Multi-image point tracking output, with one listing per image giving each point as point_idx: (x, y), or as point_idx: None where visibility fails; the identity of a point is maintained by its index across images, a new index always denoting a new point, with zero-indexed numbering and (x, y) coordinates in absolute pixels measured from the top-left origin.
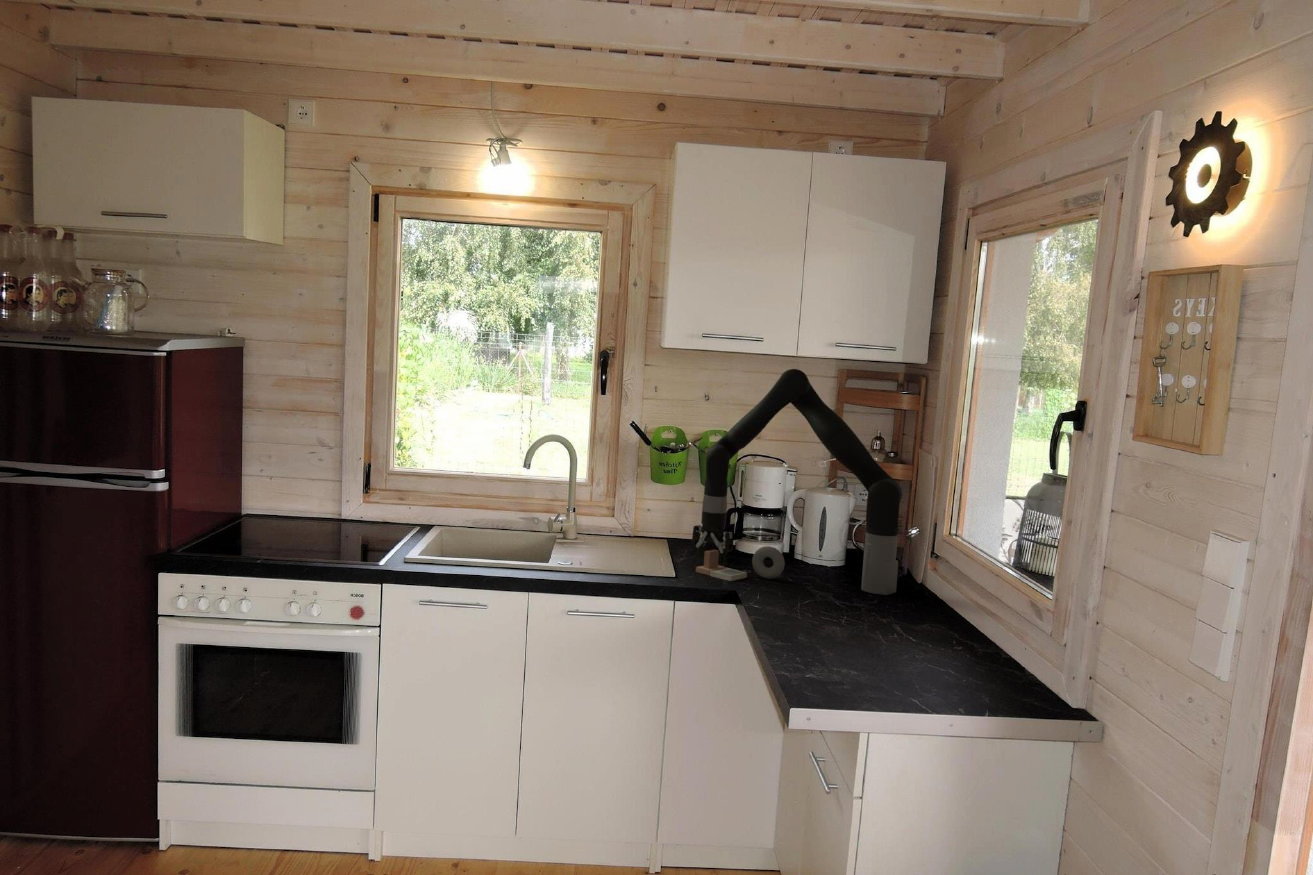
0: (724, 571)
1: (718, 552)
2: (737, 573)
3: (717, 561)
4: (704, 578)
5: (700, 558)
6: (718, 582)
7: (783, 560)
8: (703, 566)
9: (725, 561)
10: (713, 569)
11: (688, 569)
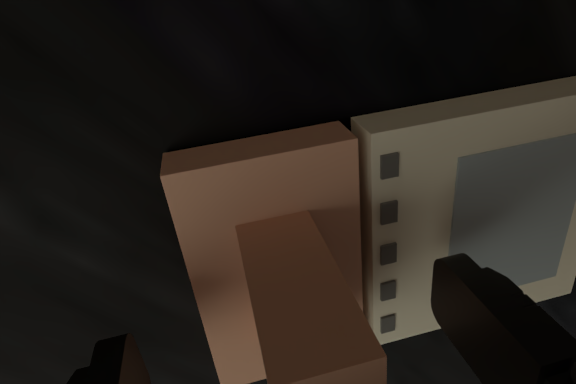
0: None
1: (373, 335)
2: (574, 194)
3: (325, 252)
4: (387, 374)
5: (142, 380)
6: None
7: None
8: (229, 327)
9: (506, 291)
10: (361, 302)
11: None
